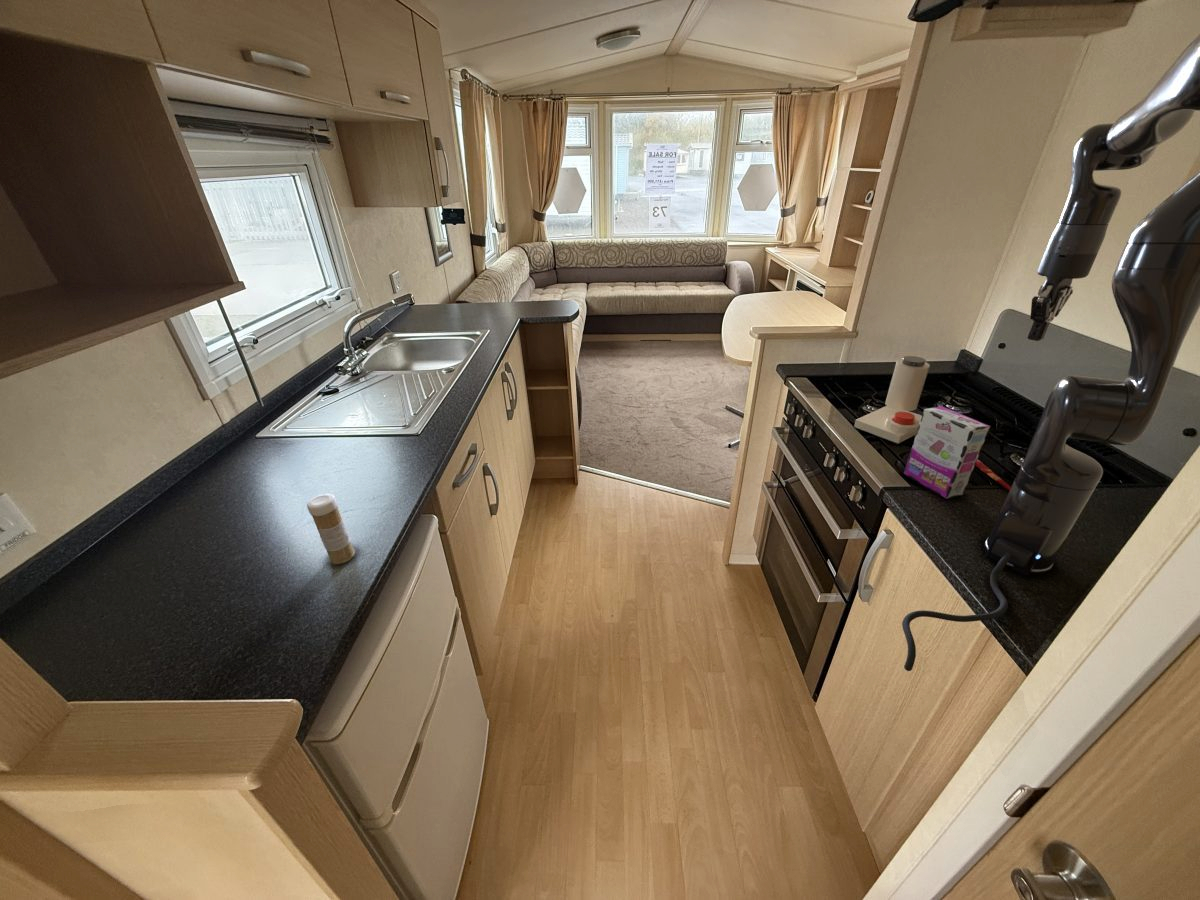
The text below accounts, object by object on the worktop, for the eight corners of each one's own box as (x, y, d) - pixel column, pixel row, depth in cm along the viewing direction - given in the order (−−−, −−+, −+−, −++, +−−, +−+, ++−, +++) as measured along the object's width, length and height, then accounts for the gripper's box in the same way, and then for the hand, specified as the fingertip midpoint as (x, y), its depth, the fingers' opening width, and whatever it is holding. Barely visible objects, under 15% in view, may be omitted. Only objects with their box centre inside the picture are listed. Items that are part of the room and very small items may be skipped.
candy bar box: (964, 495, 101) (992, 426, 93) (946, 500, 100) (973, 430, 92) (919, 469, 111) (941, 404, 103) (902, 473, 110) (923, 408, 101)
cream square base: (902, 445, 120) (907, 431, 118) (853, 426, 130) (857, 413, 128) (935, 428, 128) (940, 414, 126) (886, 411, 138) (890, 398, 136)
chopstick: (1022, 504, 98) (1024, 500, 97) (950, 447, 119) (951, 443, 118) (1032, 503, 98) (1034, 500, 97) (958, 446, 118) (959, 443, 118)
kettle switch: (906, 427, 121) (909, 420, 120) (889, 421, 124) (891, 414, 123) (916, 423, 123) (918, 415, 122) (898, 417, 126) (900, 410, 125)
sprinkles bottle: (335, 550, 94) (312, 493, 87) (359, 548, 94) (338, 491, 88) (326, 566, 90) (301, 508, 83) (351, 564, 90) (328, 506, 84)
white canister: (907, 413, 127) (921, 366, 121) (879, 404, 133) (891, 358, 126) (922, 406, 131) (937, 359, 124) (894, 397, 136) (907, 352, 130)
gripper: (1060, 244, 96) (1026, 330, 105) (1033, 251, 90) (999, 341, 99) (1110, 247, 91) (1069, 337, 99) (1084, 255, 85) (1043, 350, 93)
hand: (1034, 339), depth 99 cm, fingers closed
